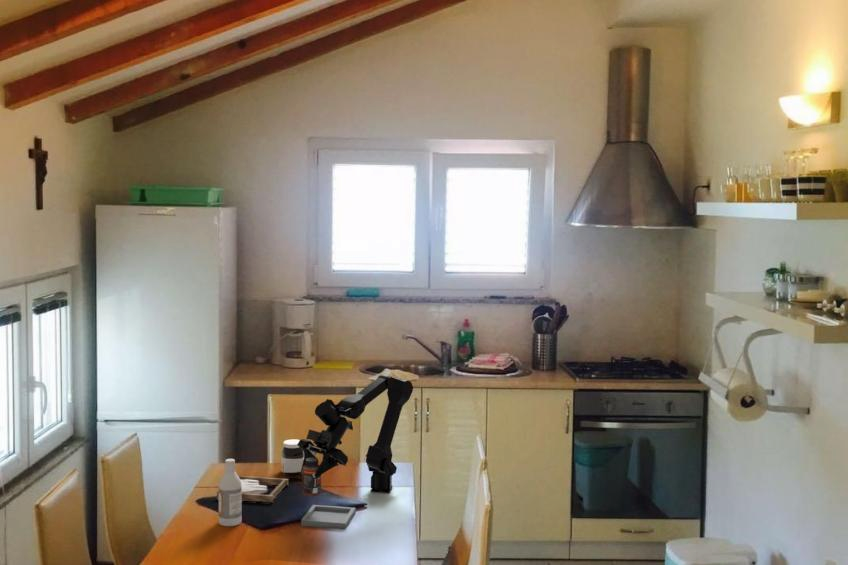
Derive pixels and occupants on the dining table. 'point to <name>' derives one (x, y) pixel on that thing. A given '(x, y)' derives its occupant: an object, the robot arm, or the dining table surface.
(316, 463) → the supplement bottle
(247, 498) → the frame
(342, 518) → the tray
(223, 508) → the bath foam
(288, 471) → the spread jar
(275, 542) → the dining table surface
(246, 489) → the salt and pepper shakers
